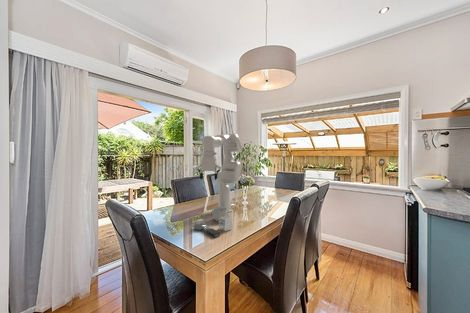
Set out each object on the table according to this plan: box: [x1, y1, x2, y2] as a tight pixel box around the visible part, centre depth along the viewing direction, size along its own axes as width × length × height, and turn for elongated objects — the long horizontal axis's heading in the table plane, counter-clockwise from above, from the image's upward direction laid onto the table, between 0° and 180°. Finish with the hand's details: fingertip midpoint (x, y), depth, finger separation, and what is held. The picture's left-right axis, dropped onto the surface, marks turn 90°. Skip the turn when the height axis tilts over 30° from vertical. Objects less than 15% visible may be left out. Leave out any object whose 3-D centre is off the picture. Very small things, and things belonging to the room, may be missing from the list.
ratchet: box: [193, 218, 221, 239], centre depth 123 cm, size 21×8×6 cm, turn 43°
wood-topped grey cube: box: [218, 215, 233, 233], centre depth 127 cm, size 6×6×7 cm
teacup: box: [211, 206, 228, 223], centre depth 145 cm, size 14×11×8 cm
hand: (208, 179), depth 139 cm, fingers open, 9 cm apart
